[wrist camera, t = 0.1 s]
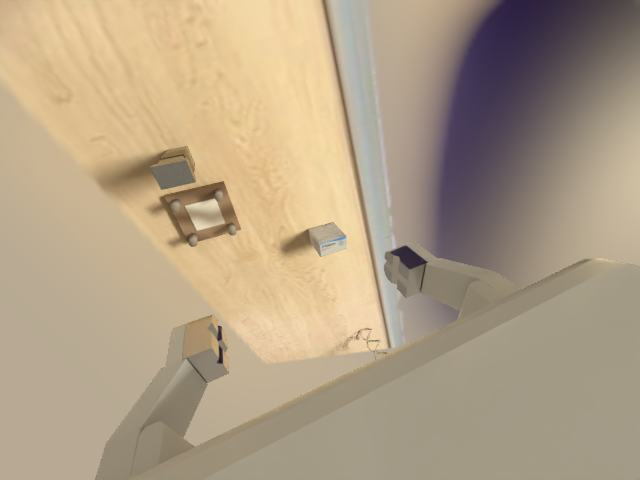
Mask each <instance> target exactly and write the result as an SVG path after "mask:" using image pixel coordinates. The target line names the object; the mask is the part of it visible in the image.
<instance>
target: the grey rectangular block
mask: <svg viewBox="0 0 640 480" xmlns="http://www.w3.org/2000/svg"><path fill="white" fill-rule="evenodd" d="M194 166H195V163H194V161H193V158H192V156H191V154H190V151H189V149H188V146H186V147H181V148H175V149H170V150H167V152H166V153H164V154H163V155H162V157H161V158H160V161H159V162H158V164H154V165H151V167H150V169H151V171H152V173H153V175H154V177H155V178H156V180H157V182H158V184H159V186H160V188H161V190H163V189H167V188H172V187H176V186H181V185H185V184H190V183H194V182H196V178H195V175H194V170H195V169H194Z"/></svg>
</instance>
